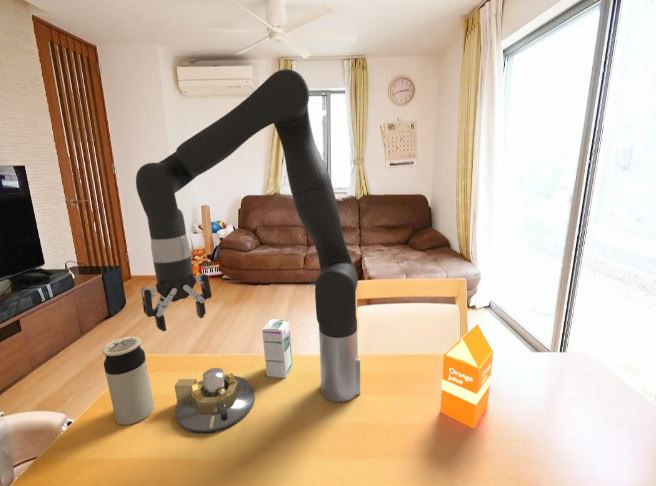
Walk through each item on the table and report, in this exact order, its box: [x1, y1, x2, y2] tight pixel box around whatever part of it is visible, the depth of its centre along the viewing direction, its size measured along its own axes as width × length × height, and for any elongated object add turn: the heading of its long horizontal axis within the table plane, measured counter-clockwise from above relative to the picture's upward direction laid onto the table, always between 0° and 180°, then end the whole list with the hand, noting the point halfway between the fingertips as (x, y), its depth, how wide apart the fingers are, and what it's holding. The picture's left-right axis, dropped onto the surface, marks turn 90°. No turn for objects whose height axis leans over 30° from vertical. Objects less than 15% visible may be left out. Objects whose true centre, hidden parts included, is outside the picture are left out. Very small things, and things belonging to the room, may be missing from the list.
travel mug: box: [101, 336, 155, 426], centre depth 77 cm, size 8×8×18 cm
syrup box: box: [261, 318, 293, 379], centre depth 91 cm, size 6×6×14 cm
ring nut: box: [174, 372, 239, 414], centre depth 80 cm, size 14×10×4 cm
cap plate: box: [175, 367, 256, 435], centre depth 80 cm, size 18×18×8 cm
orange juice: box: [440, 323, 494, 429], centre depth 75 cm, size 8×9×20 cm
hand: (182, 323), depth 77 cm, fingers open, 8 cm apart
